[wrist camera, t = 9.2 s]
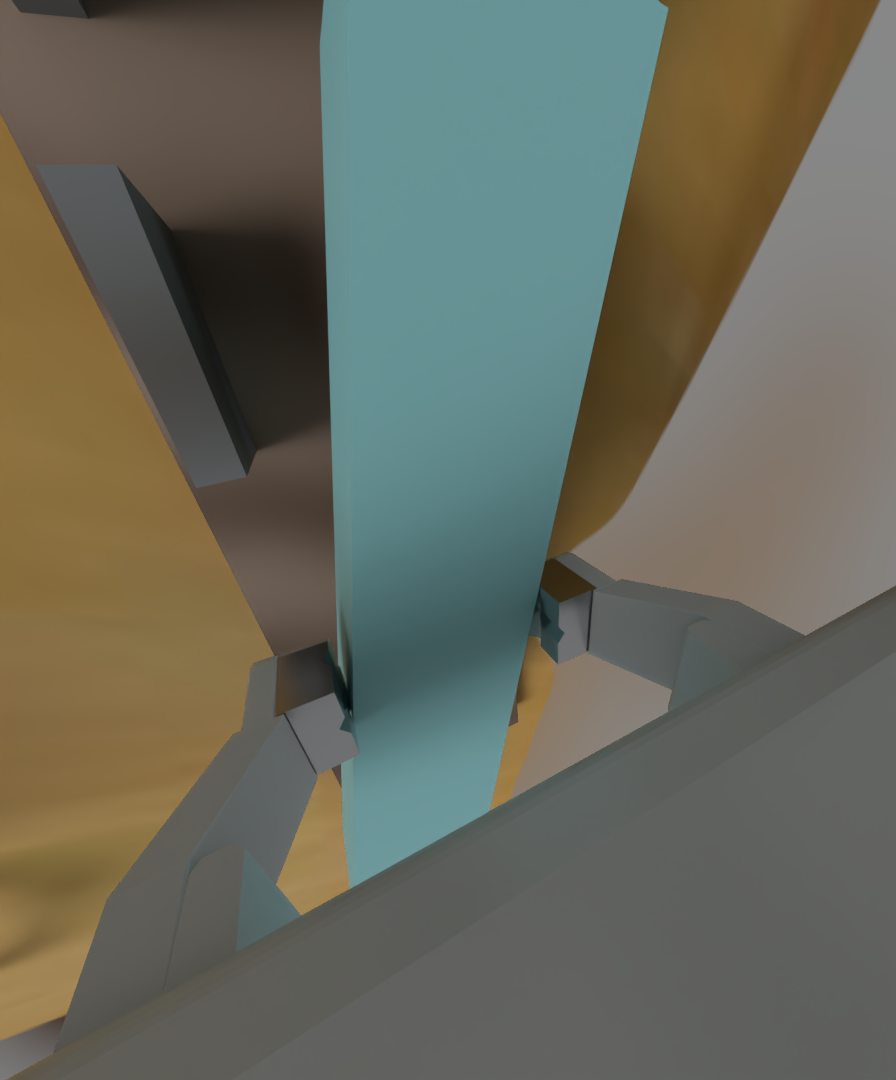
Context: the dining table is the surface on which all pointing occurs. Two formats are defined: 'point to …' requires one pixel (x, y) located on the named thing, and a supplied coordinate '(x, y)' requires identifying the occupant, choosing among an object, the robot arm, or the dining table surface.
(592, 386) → the dining table surface
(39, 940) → the dining table surface
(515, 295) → the slat
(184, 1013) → the robot arm
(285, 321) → the end-cap base
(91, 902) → the dining table surface
